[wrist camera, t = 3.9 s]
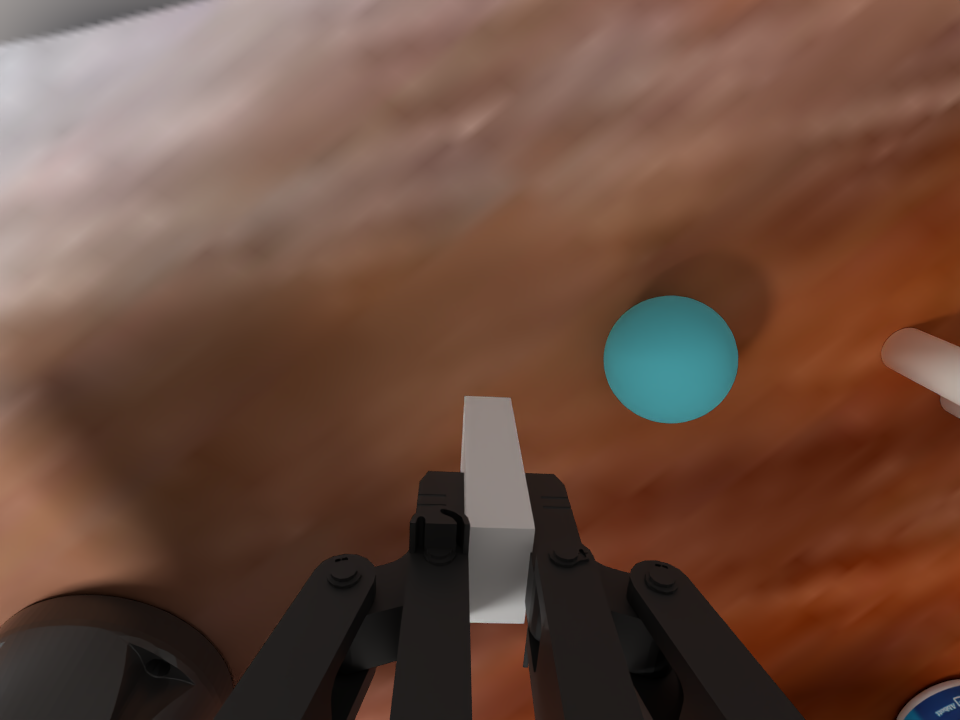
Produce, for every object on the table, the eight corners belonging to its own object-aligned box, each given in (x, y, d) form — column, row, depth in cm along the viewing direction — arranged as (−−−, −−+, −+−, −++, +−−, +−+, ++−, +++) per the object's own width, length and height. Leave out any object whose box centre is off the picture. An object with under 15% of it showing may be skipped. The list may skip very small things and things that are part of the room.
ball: (693, 392, 31) (745, 449, 25) (584, 388, 31) (613, 445, 25) (716, 284, 29) (779, 320, 23) (599, 279, 28) (635, 314, 23)
